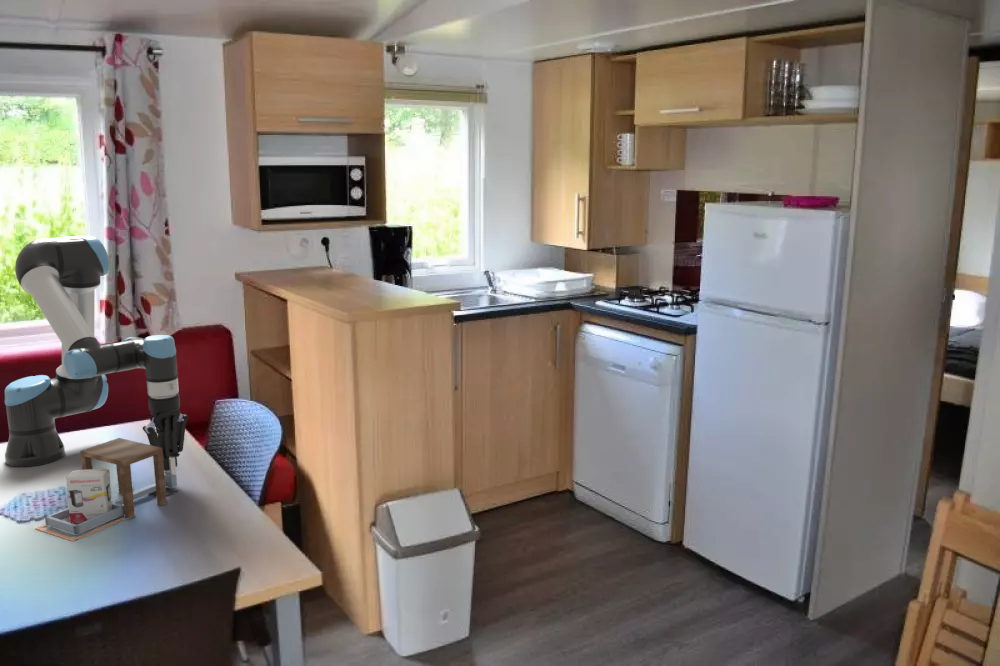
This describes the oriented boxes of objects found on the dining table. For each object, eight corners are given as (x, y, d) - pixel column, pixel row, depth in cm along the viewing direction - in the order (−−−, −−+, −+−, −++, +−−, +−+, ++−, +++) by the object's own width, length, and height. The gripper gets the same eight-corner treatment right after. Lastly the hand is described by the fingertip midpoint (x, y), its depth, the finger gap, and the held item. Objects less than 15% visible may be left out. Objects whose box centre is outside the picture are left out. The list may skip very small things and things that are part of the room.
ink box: (69, 524, 194) (63, 478, 192) (75, 516, 199) (70, 470, 197) (108, 521, 196) (103, 475, 194) (114, 513, 201) (109, 467, 198)
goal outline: (35, 529, 192) (35, 528, 192) (88, 507, 204) (88, 507, 204) (72, 541, 186) (72, 540, 186) (125, 518, 198) (125, 518, 198)
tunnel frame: (86, 506, 205) (80, 450, 202) (124, 491, 214) (119, 437, 211) (129, 519, 197) (124, 461, 194) (166, 503, 207) (162, 447, 204)
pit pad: (138, 491, 214) (138, 490, 214) (153, 485, 218) (153, 484, 218) (162, 498, 210) (162, 497, 210) (177, 491, 214) (177, 490, 214)
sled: (45, 524, 193) (44, 511, 192) (154, 481, 220) (153, 469, 219) (76, 534, 188) (75, 521, 187) (184, 488, 214) (183, 477, 214)
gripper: (152, 403, 205) (160, 491, 210) (193, 390, 216) (200, 474, 221) (132, 399, 209) (140, 486, 213) (173, 387, 220) (180, 469, 225)
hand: (170, 480), depth 217 cm, fingers closed
